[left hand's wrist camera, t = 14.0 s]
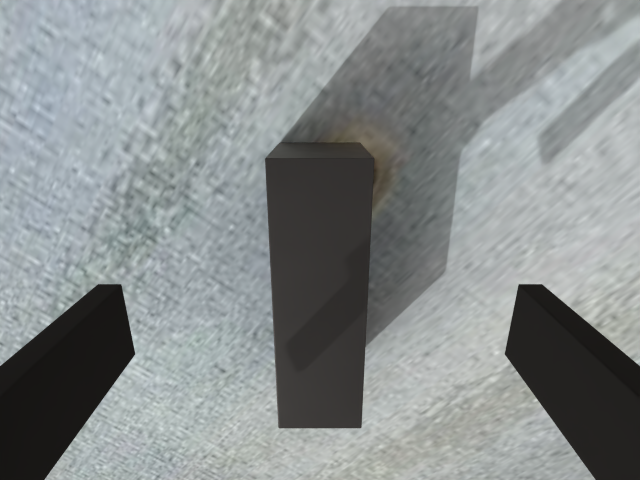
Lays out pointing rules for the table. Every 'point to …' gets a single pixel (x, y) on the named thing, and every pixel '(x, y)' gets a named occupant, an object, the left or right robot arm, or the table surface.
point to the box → (319, 279)
